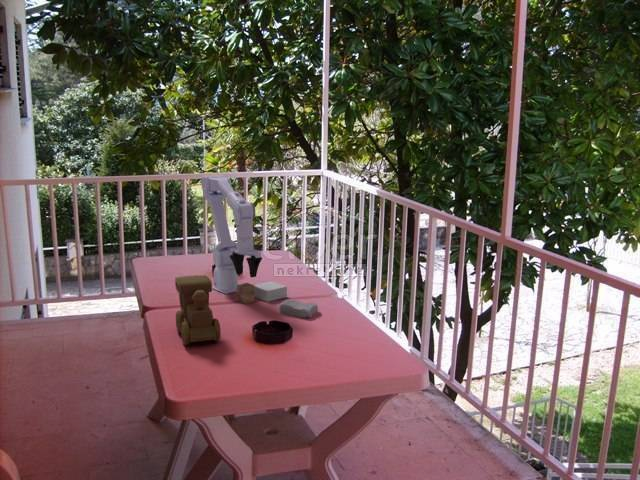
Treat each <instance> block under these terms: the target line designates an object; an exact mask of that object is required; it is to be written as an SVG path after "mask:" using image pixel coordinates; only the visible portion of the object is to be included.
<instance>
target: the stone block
mask: <svg viewBox="0 0 640 480" xmlns="http://www.w3.org/2000/svg"><path fill="white" fill-rule="evenodd" d="M278 310H279V314H282V315H286V316H292V317H298V318H302V319H311V318H312V316H314V315H316V314H317V313H318V311H319V307H318V304H316V303H313V302H303V301H300V300H296V299H294V298H293V299H292V298H289V299H285V300H283V301H282V302H281V303H279V307H278Z"/></svg>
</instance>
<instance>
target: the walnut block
mask: <svg viewBox="0 0 640 480" xmlns="http://www.w3.org/2000/svg"><path fill="white" fill-rule="evenodd" d="M255 285H256V284H252V283H249V282H244V283H238V285H237V291H236V302H238V303H241V304H243V303H244V304H243V305H246V304H249V303H254V302H255V298H256V297H255ZM245 303H246V304H245Z"/></svg>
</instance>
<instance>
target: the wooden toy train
mask: <svg viewBox="0 0 640 480" xmlns="http://www.w3.org/2000/svg"><path fill="white" fill-rule="evenodd" d="M174 283H175V289H176V292H177V293H178V299H179V304H180V305H179V307H180V310H177V311H176V312H175V325H176V331H177V332H178V333H179V334H181V341H182V344H183V345H184V346H188V345H190V343H195V342H204V341H206V342H207V341H214V342H215V343H217V342H219V341H220V340H221V326H220V321H219V320H218V319H217V318H214V314H213V311H212V309H211V308H210V306H209V305H210V293H212V292H213V289H212V287H213V283H212V280H211V279H210V277H209V276H207V275H204V274H203V275H202V274H201V275H199V274H198V275H197V274H196V275H184V276H178V277H175V279H174Z"/></svg>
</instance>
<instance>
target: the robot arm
mask: <svg viewBox="0 0 640 480" xmlns="http://www.w3.org/2000/svg"><path fill="white" fill-rule="evenodd" d="M201 189H202V194H203V197H204V200H206V201H208V203H209V209H210V213H211V217H212V222H213V226H214V230H215V233H216V238H217V244H216V245H215V246H214V247H213V249H212V254H213V255H212V256H213V263H214V265H215V268H214V270H213V286H212V290H216V291H217V292H220V293H222V294H225V295H226V294H232V293H237V285H238V284H239V275H242V274H243V273H244V271H243V270H244V260H246V262H247V265H248V269H249V277H250V278H257V274H258V269H259V266H260V263H261V262H262V260H263V256H262V251H259V250H256V249H255V248H254V225H253V222H254V221H253V220H254V219H255V217H256V206H255V205H254V204H253V202H250V201H249V202H247V201H246V200H245V198H244V197H243V196H242V194H241V193H240V192H239V191H235V190H234V188H233V186H232V180H231V177H230V175H228V174H226V173H225V174H217V175H207V174H206V175H203V177H202V179H201ZM224 200H226V202H225V203H226V204H227V205H228V206H229V208H230V209H231V211H232V216H233V220H234V225H235V227H236V242H235V241H234V240H232V238H231V237H232V236H231V233H230V229H229V223H228V220H227V216H226V212H225V208H224V204H223V201H224ZM245 256H246V259H245Z"/></svg>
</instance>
